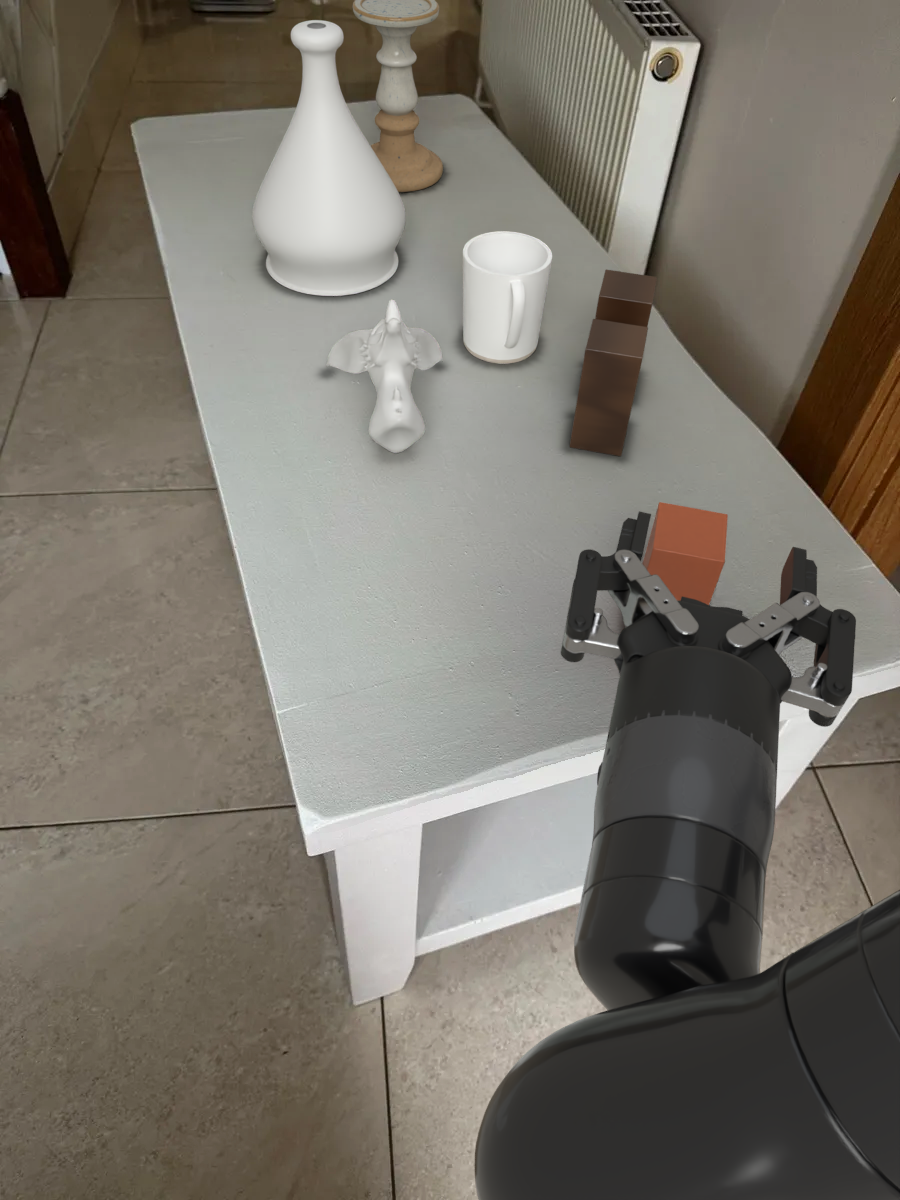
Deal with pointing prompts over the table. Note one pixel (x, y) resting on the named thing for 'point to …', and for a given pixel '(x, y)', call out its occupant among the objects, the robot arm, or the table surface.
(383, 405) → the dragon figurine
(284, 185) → the vase
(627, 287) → the walnut block far
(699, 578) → the terracotta block
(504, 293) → the mug
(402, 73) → the candle holder
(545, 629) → the table surface
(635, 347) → the walnut block mid
